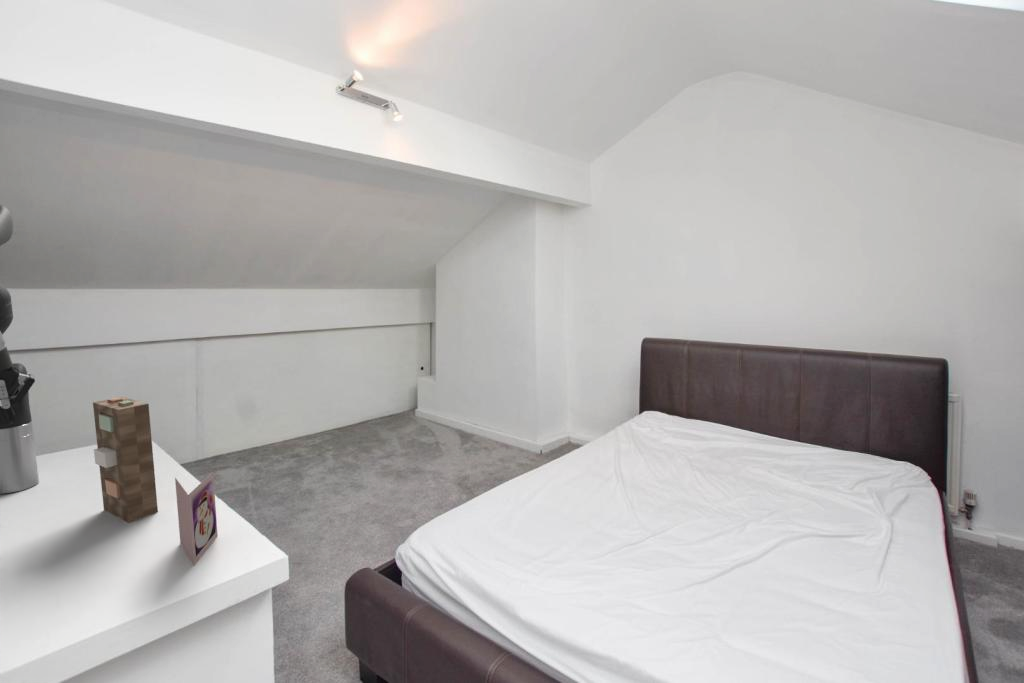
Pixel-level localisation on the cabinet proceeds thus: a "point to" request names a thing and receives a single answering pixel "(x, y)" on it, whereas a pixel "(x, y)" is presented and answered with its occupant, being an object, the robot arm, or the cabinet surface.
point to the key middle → (105, 457)
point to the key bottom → (112, 488)
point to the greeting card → (197, 518)
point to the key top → (106, 422)
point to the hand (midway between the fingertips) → (6, 423)
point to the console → (128, 458)
